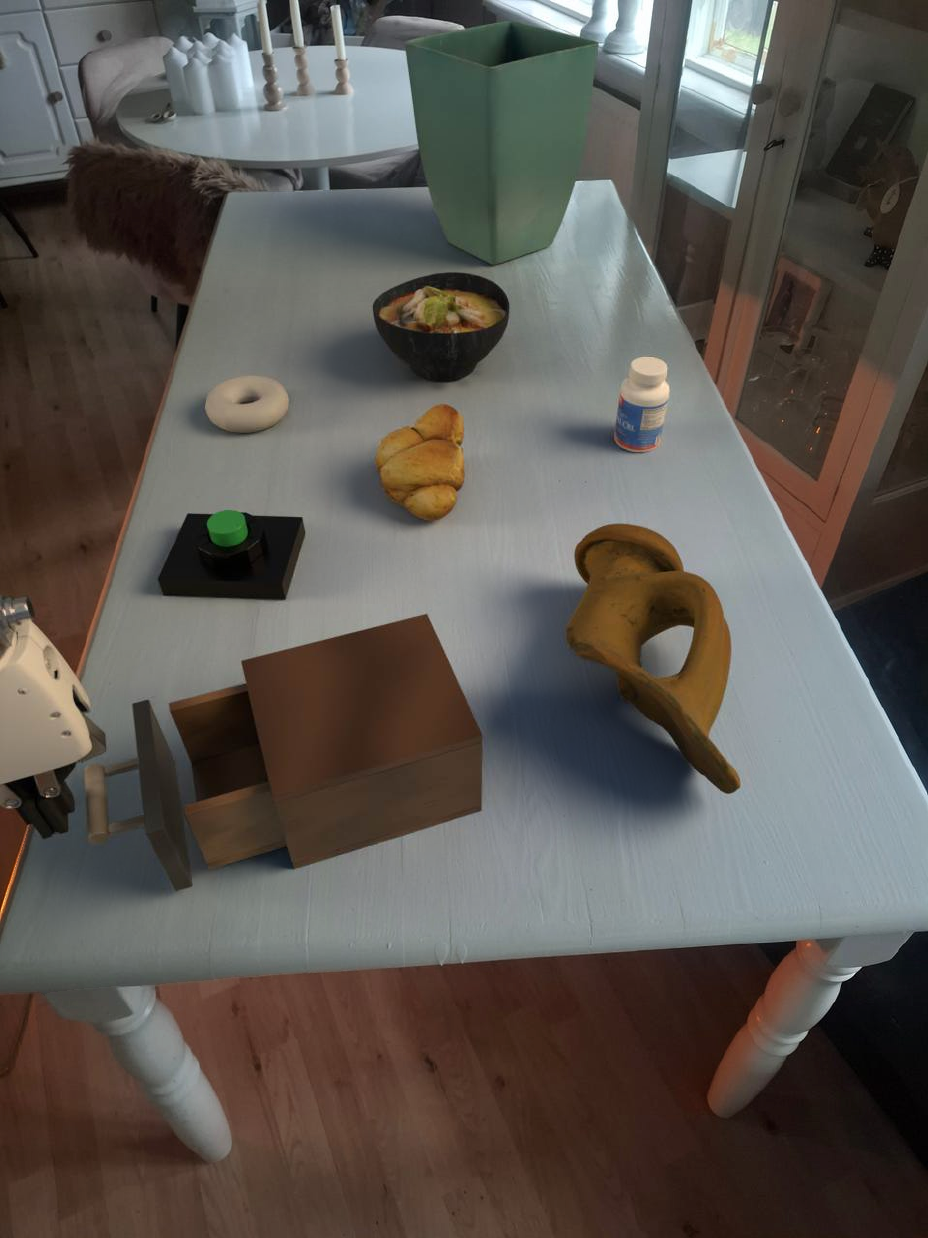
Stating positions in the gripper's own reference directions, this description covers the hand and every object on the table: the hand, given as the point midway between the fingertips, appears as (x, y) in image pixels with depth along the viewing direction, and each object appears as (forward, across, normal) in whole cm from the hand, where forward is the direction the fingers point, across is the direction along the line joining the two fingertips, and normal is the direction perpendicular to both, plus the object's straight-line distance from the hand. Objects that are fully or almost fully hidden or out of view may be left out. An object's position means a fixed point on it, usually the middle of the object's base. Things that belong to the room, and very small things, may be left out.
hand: (56, 818), depth 60 cm
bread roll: (+6, -37, -34) cm, 50 cm away
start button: (+2, -16, -29) cm, 33 cm away
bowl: (+6, -48, -59) cm, 76 cm away
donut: (+6, -22, -56) cm, 60 cm away
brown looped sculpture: (+6, -46, 0) cm, 47 cm away
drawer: (+5, -11, 0) cm, 12 cm away
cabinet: (+6, -22, 0) cm, 23 cm away
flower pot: (+7, -68, -93) cm, 115 cm away
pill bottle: (+6, -63, -34) cm, 72 cm away
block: (+6, -16, -29) cm, 33 cm away
